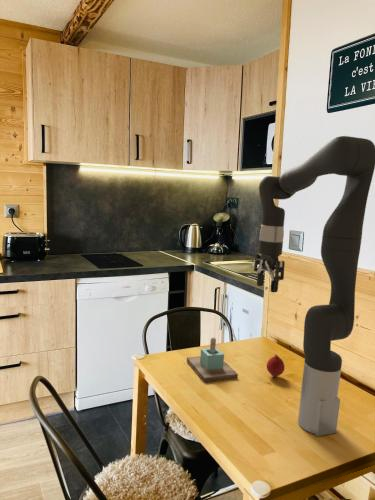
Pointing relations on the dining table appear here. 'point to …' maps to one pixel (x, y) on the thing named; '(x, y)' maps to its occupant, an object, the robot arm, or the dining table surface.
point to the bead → (212, 359)
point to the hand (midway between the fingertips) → (266, 288)
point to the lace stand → (215, 373)
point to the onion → (275, 366)
